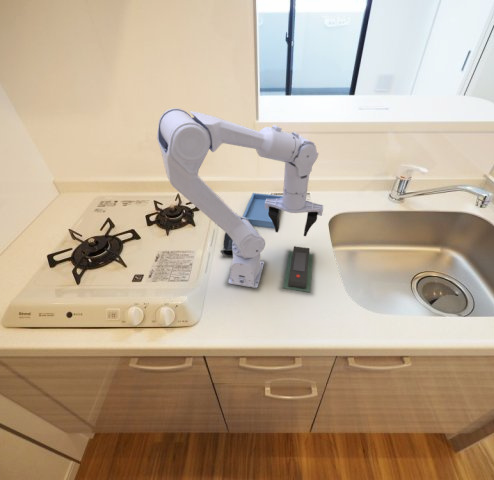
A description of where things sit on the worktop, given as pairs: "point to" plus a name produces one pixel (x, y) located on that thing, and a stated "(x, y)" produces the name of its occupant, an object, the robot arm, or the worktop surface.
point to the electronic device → (227, 246)
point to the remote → (299, 268)
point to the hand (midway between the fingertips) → (291, 232)
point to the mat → (307, 274)
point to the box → (259, 210)
